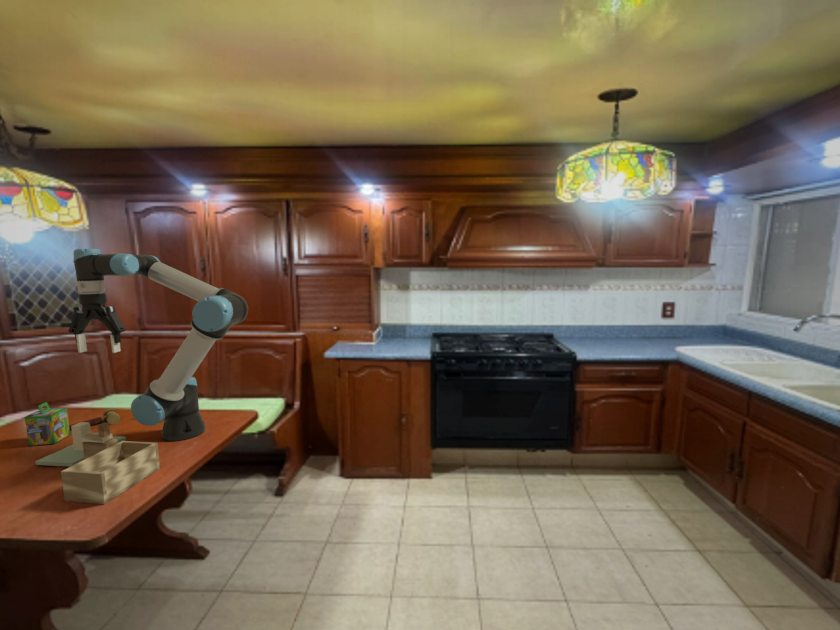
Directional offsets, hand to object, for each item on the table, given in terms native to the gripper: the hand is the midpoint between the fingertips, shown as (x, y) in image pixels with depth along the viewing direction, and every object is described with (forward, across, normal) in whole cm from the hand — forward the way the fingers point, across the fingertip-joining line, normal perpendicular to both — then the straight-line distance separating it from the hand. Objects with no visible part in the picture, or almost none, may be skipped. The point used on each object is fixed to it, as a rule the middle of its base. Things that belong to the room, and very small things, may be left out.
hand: (99, 352), depth 143 cm
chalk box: (+36, -30, +4) cm, 47 cm away
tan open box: (+37, +18, -22) cm, 46 cm away
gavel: (+37, -28, +18) cm, 50 cm away
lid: (+36, -6, -5) cm, 37 cm away
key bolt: (+26, +11, -15) cm, 32 cm away
